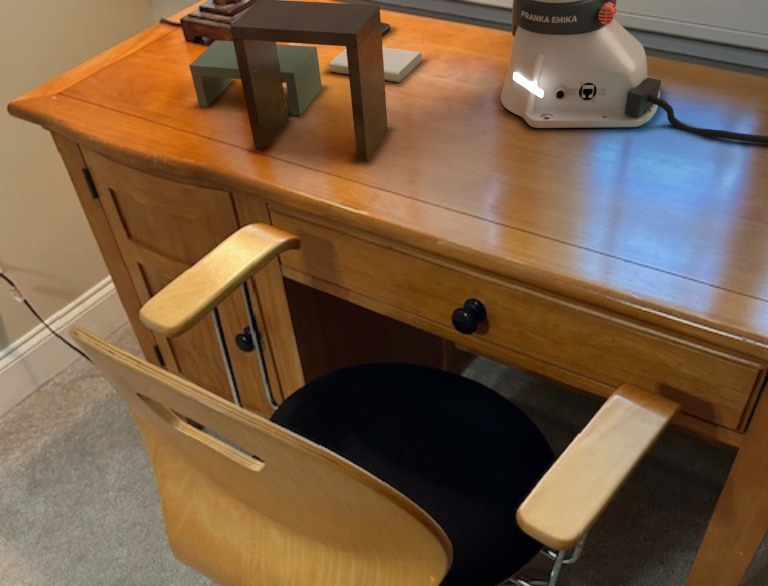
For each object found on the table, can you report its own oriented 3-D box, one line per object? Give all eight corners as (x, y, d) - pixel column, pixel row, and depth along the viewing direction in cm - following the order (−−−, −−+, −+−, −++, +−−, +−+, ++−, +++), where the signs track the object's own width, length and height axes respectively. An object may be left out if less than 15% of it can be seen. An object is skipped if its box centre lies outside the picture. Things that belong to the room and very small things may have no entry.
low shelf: (322, 88, 123) (316, 46, 118) (300, 115, 118) (293, 73, 113) (224, 80, 127) (215, 40, 122) (199, 106, 122) (188, 65, 117)
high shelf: (388, 130, 113) (379, 4, 100) (367, 161, 108) (356, 34, 95) (279, 120, 117) (258, -2, 105) (254, 150, 112) (229, 26, 100)
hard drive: (398, 84, 122) (329, 72, 126) (422, 61, 126) (354, 51, 130) (398, 72, 121) (328, 61, 125) (421, 51, 125) (353, 41, 129)
